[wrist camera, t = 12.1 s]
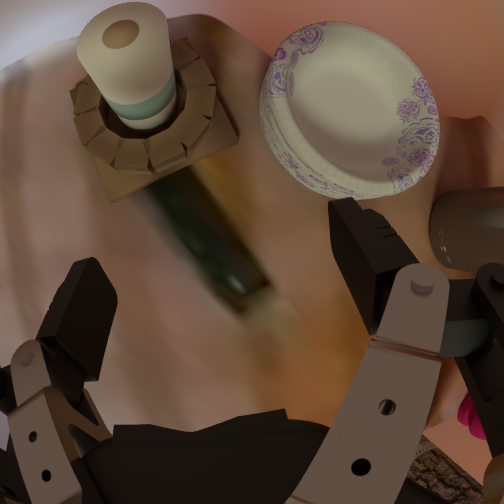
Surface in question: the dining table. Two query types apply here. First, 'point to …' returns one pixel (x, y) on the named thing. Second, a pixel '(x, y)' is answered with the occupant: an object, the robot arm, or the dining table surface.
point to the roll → (132, 65)
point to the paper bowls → (348, 112)
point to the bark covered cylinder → (443, 475)
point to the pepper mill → (470, 418)
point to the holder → (162, 144)
